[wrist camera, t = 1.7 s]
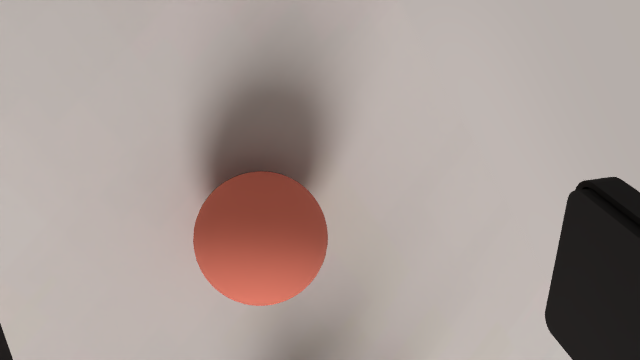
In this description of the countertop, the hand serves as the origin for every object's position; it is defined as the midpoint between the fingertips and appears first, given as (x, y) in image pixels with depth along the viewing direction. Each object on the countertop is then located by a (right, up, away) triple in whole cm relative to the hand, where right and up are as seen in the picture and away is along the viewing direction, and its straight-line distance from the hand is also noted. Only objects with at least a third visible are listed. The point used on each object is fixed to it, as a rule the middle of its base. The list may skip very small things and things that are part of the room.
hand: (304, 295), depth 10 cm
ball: (-2, -1, +18) cm, 18 cm away
